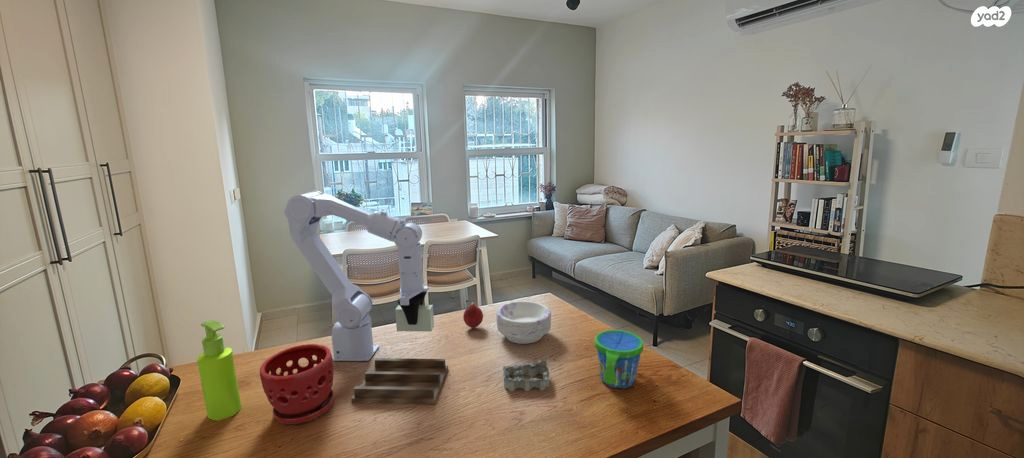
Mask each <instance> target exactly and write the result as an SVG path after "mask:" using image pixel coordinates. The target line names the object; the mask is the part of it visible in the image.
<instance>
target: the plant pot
mask: <svg viewBox="0 0 1024 458" xmlns="http://www.w3.org/2000/svg"><path fill="white" fill-rule="evenodd" d="M313 356H315V357H316V359H314V358H313ZM300 359H306V360H307V362H308V364H307V365H305V366H302V365H300V363H299V360H300ZM288 362H291V365H289V366H288V365H287V363H288ZM278 369H280V372H279V373H277V371H278ZM294 370H297V371H296V372H295V373H294ZM286 372H287V374H286V375H285V373H286ZM259 376H260V381H261V382H260V383H261V385H262V388H263V392H264V394H265V396H266V397H267V400H268V402H269V404H270V405H271V406H272V407H273V409H272V414H273V417H274V419H275V420H277V421H278V422H280V423H283V424H287V425H298V424H303V423H306V422H310V421H314V420H315V419H317V418H318V417H319V416H321V415H323V414H324V413H326V412H327V411H328V410H329V409H330V408H331V406H332V404H333V403H334V400H335V392H334V390H333V389H332V387H333V383H334V361H333V355H332V351H331V349H330V348H328V346H325V345H323V344H318V343H317V344H316V343H312V344H311V343H309V344H301V345H300V344H299V345H295V346H292V347H288V348H286V349H284V350H280V351H279V352H277V353H274V354H273V355H271V356H270V357H267V359H265V360H264V361H263V362H262V364H261V366H260V367H259Z"/></svg>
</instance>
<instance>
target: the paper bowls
mask: <svg viewBox="0 0 1024 458" xmlns="http://www.w3.org/2000/svg"><path fill="white" fill-rule="evenodd" d="M551 324H552V312H551V309H550V308H549V307H548V306H546V305H544V304H543V303H540V302H535V301H530V300H515V301H511V302H507V303H504V304H502V305H500V306H498V308H497V310H496V328H497V331H498V332H499V333H501V335H503V336H505V338H506V340H508V341H509V342H512V343H515V344H518V345H519V344H520V345H528V344H533V343H536V342H538V341H539V340H541V338H542V337H543V336H544V335H546V334H547V333H549V331H550V330H551V326H552V325H551Z"/></svg>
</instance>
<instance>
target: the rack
mask: <svg viewBox="0 0 1024 458" xmlns="http://www.w3.org/2000/svg"><path fill="white" fill-rule="evenodd" d="M448 371H449V365H446V358H400V357H398V358H397V357H396V358H391V357H389V358H387V357H386V358H383V357H375V358H374V366H373V367H372V369H371V370H369V371H365V373H364V378H365V379H364V380H363V382H362V383H361V384H360V385H356V386H354V388H353V395H352V397H351V398H350V399H351V403H352V404H394V405H395V404H397V405H398V404H399V405H400V404H403V405H407V404H408V405H410V404H411V405H436V402H437V399H438V397H439V394H440V393H441V389H442V386H443V384H444V381H445V380H446V379H445V378H446V375H447V373H448Z"/></svg>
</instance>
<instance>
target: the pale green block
mask: <svg viewBox="0 0 1024 458" xmlns="http://www.w3.org/2000/svg"><path fill="white" fill-rule="evenodd" d="M394 313H395V314H394V315H395V322H396V323H395V324H396V325H395V326H396V332H432V331H433V329H434V327H435V319H434V318H435V317H434V305H433V304H423V305H419V309H418V320H417V324H416V325H408V322H407V319H406V316H405V314H404V311H403V309H402V308H401V306H400V305H399V304H398V305H397V306H396V308H395V309H394Z"/></svg>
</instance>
